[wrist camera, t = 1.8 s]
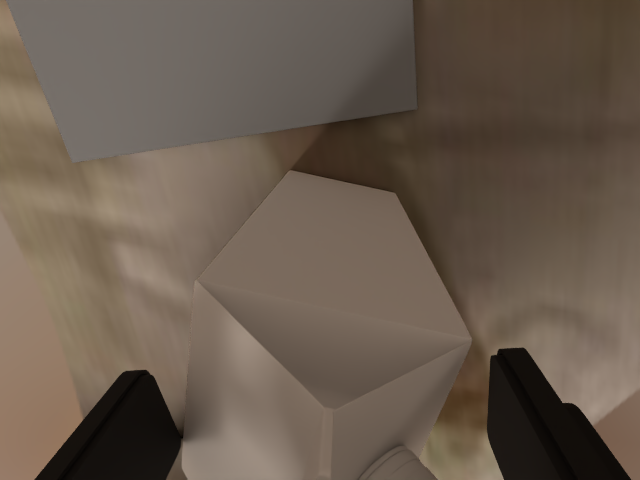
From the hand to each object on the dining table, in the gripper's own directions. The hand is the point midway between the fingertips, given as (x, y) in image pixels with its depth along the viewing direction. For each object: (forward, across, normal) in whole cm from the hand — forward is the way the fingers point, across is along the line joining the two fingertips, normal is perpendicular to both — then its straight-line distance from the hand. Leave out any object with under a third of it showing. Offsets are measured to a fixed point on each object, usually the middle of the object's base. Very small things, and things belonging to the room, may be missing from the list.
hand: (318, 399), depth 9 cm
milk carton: (+15, +1, +1) cm, 15 cm away
